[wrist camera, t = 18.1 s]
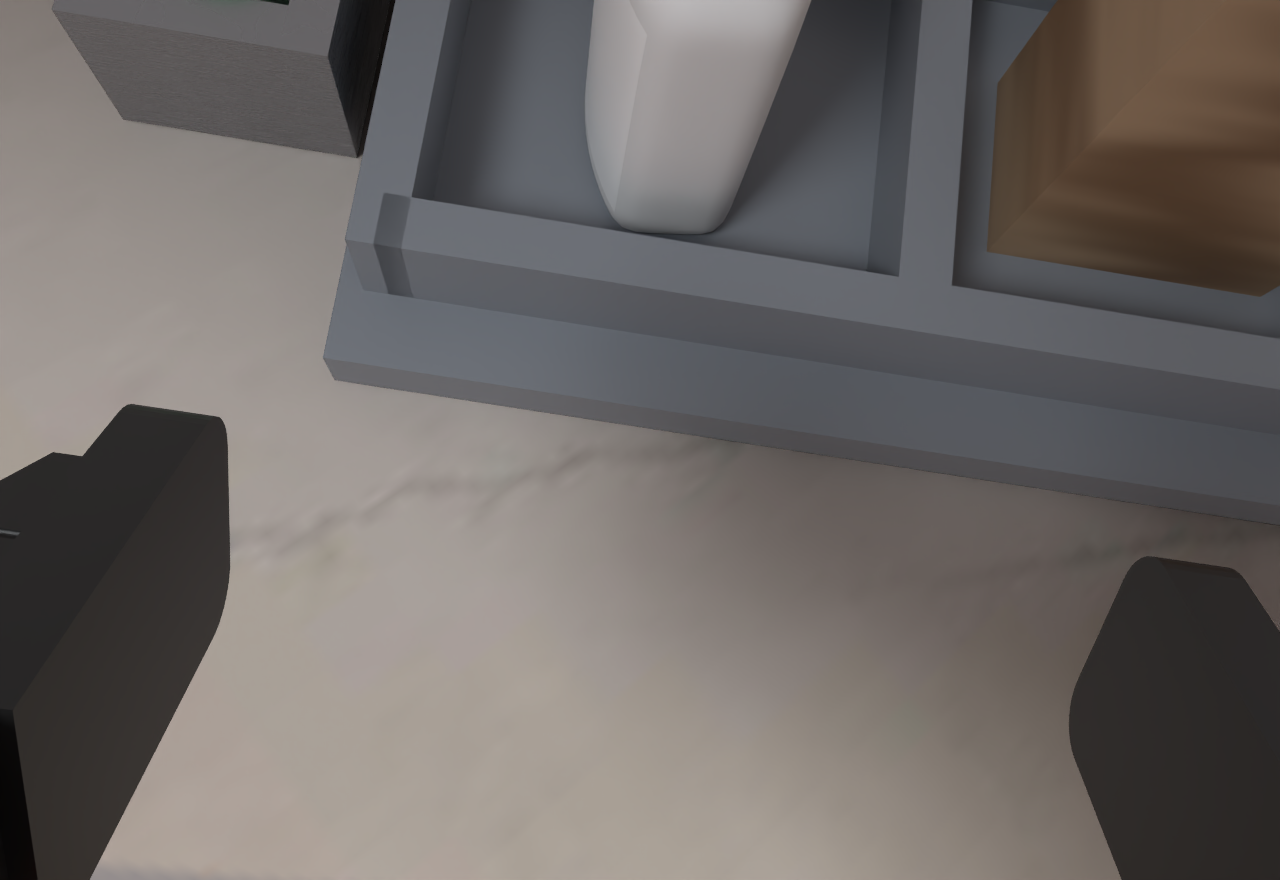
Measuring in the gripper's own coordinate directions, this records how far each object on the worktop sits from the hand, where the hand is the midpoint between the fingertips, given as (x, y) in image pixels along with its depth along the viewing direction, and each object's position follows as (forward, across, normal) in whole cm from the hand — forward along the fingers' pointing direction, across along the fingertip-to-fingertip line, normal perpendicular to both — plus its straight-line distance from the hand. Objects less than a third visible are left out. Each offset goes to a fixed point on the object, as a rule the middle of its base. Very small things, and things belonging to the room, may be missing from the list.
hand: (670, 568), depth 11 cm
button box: (+18, +9, +1) cm, 20 cm away
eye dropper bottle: (+17, 0, +1) cm, 17 cm away
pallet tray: (+18, -5, +2) cm, 18 cm away
